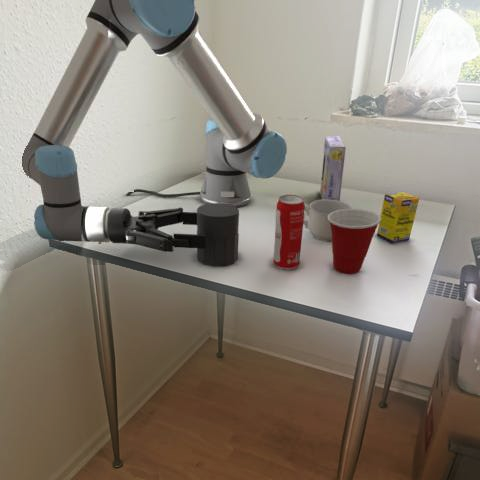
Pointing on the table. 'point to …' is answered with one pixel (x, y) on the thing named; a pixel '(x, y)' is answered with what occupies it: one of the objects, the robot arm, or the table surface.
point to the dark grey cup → (218, 234)
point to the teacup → (322, 217)
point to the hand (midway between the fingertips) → (208, 230)
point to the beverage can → (288, 231)
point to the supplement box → (397, 217)
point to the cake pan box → (332, 168)
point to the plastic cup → (351, 237)
